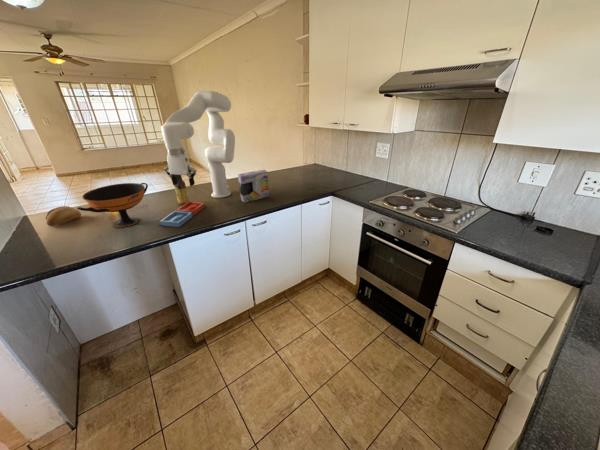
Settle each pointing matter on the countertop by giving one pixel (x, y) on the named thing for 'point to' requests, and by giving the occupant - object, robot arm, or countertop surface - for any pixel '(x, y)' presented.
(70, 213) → the bread roll
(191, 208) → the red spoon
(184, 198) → the sauce bottle
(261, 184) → the cake pan box
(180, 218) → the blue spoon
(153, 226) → the countertop surface
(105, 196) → the cup
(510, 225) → the countertop surface
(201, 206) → the red tray
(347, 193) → the countertop surface
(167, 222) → the blue tray
